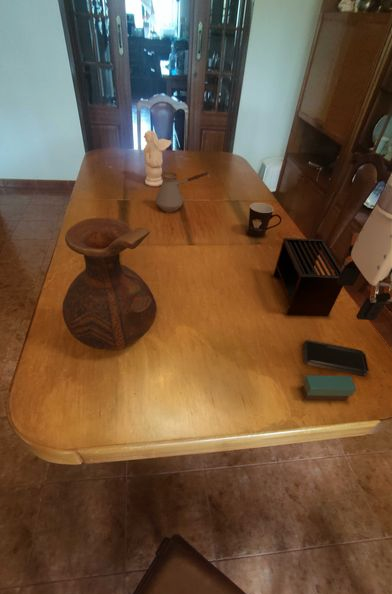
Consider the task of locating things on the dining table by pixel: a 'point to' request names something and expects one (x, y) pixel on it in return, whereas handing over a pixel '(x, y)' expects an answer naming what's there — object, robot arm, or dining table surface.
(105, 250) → the jug
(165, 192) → the coffee pot
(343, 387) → the teal rectangular block
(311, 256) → the rack
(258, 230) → the coffee mug
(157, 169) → the cherub figurine
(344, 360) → the phone
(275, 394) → the dining table surface
